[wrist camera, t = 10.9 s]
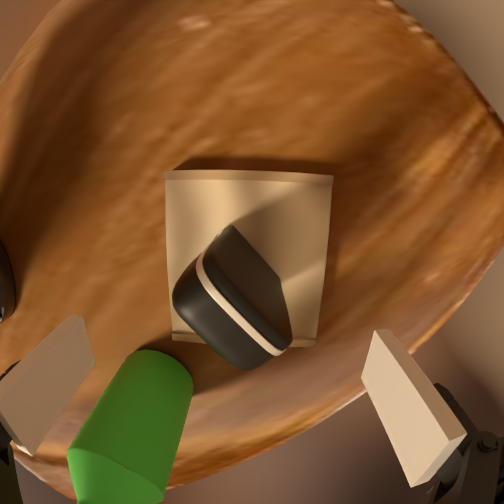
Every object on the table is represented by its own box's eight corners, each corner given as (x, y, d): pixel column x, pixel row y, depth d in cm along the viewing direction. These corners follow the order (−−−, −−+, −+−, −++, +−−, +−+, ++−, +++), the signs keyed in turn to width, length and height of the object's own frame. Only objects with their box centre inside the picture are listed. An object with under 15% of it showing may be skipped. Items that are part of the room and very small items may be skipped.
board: (177, 331, 28) (172, 340, 26) (171, 171, 24) (164, 170, 22) (312, 336, 28) (315, 346, 26) (328, 175, 24) (333, 175, 22)
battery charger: (197, 248, 24) (150, 305, 13) (229, 219, 23) (204, 256, 12) (250, 305, 25) (245, 391, 14) (283, 280, 25) (300, 356, 14)
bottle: (202, 401, 30) (162, 589, 6) (140, 399, 31) (71, 556, 7) (184, 343, 28) (99, 570, 4) (116, 344, 29) (3, 513, 5)
